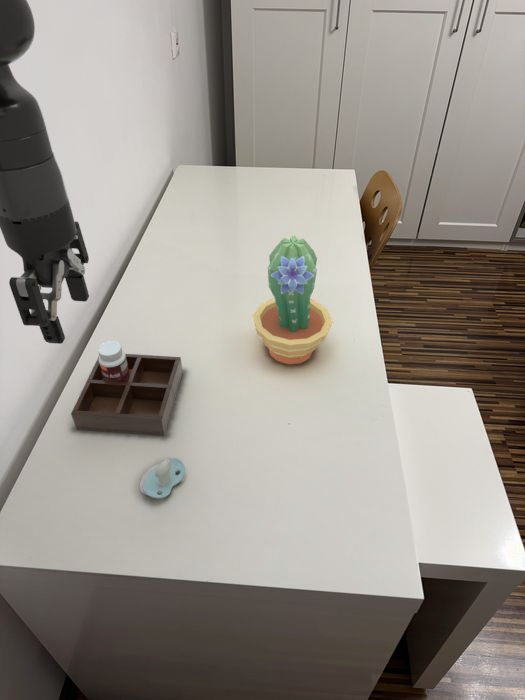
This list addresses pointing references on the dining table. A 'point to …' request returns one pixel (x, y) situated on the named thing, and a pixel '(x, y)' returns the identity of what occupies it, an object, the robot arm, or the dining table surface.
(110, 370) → the pill bottle
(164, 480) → the pacifier
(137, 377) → the grid
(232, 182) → the dining table surface
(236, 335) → the dining table surface
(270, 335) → the potted cactus
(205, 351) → the dining table surface
